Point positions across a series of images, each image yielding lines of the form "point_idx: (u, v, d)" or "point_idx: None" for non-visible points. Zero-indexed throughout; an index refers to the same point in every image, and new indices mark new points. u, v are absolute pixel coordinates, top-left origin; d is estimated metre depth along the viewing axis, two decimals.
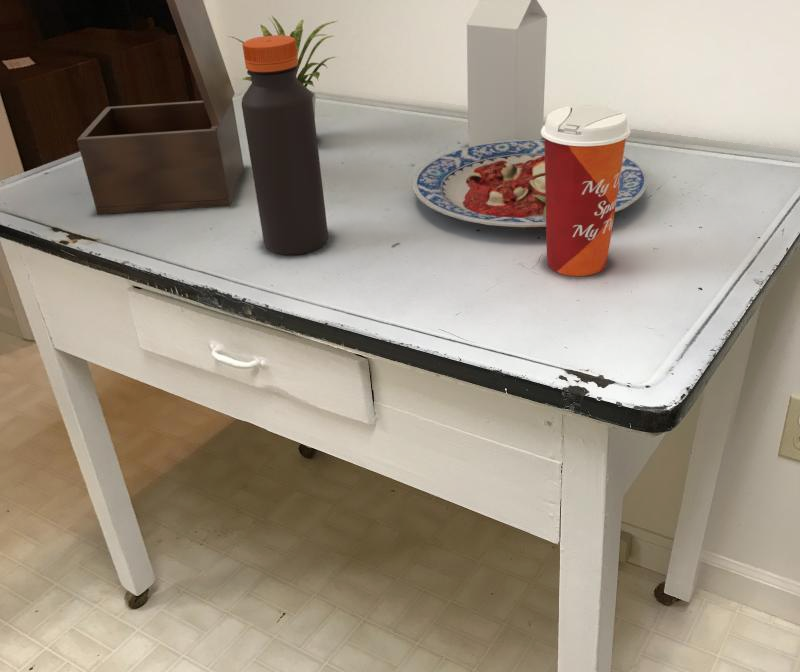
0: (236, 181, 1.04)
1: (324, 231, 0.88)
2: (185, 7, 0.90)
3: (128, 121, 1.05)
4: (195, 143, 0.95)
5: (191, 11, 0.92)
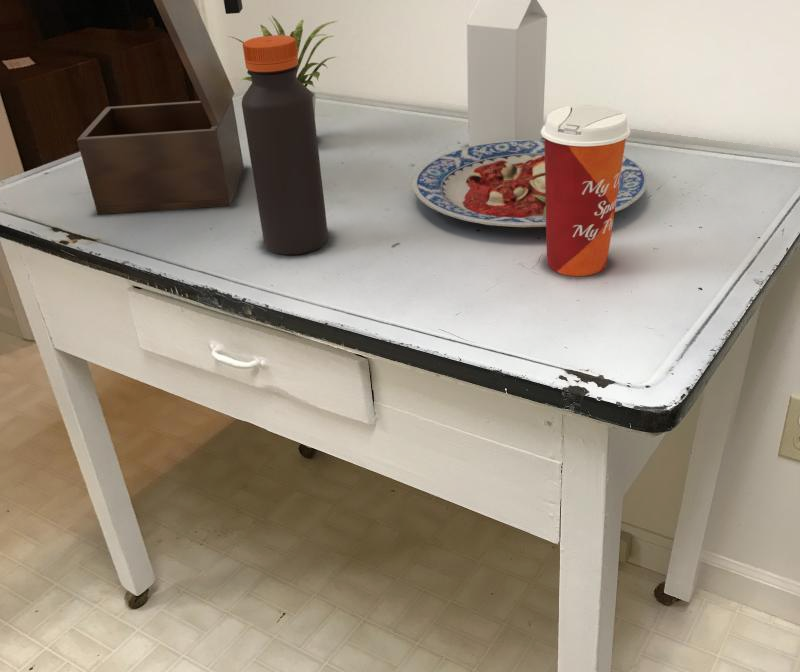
0: (236, 181, 1.04)
1: (324, 231, 0.88)
2: (175, 10, 0.90)
3: (128, 121, 1.05)
4: (195, 143, 0.95)
5: (182, 13, 0.93)
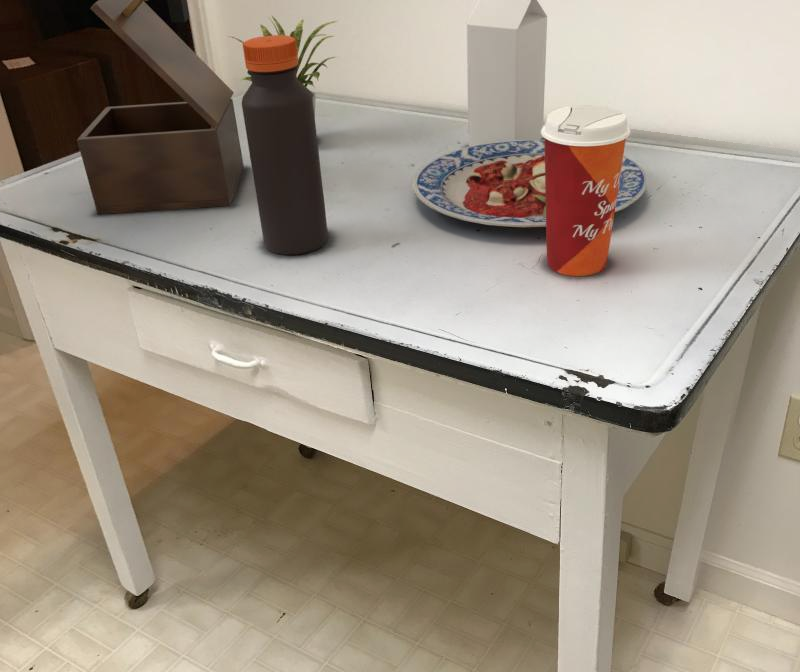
0: (236, 181, 1.04)
1: (324, 231, 0.88)
2: (140, 32, 0.92)
3: (128, 121, 1.05)
4: (195, 143, 0.95)
5: (149, 34, 0.94)
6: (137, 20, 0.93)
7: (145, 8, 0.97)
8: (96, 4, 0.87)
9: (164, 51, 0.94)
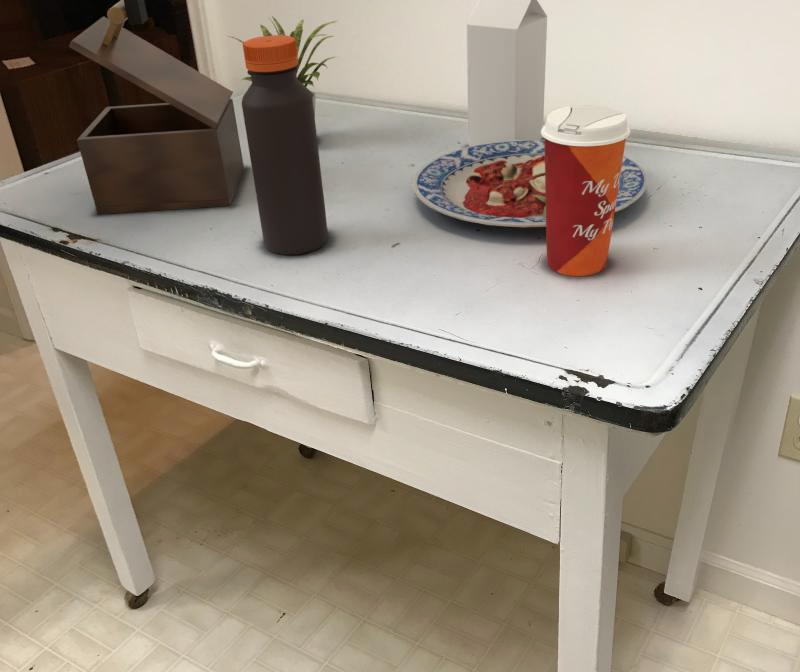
0: (236, 181, 1.04)
1: (324, 231, 0.88)
2: (123, 57, 0.93)
3: (128, 121, 1.05)
4: (195, 143, 0.95)
5: (134, 57, 0.95)
6: (119, 47, 0.95)
7: (127, 35, 0.99)
8: (73, 41, 0.89)
9: (151, 69, 0.95)
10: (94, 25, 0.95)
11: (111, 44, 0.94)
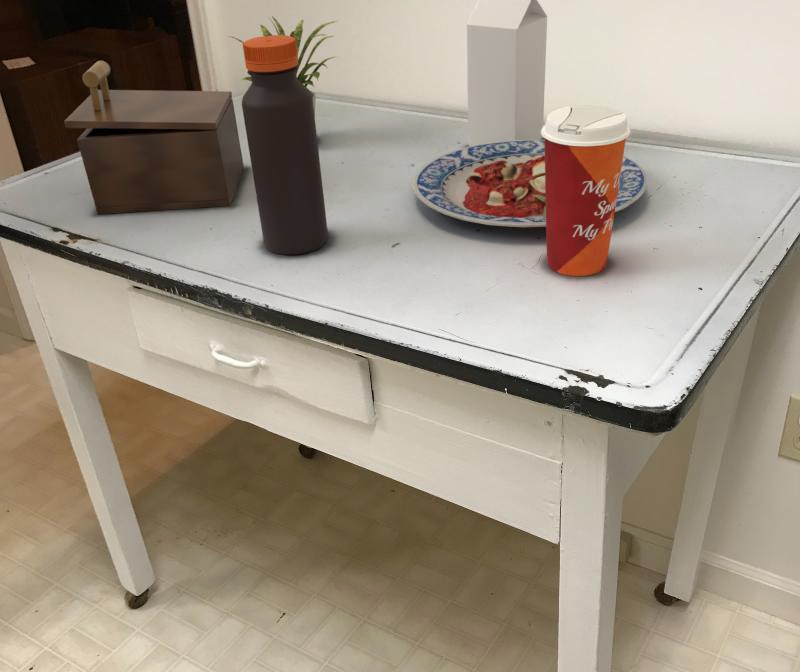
0: (236, 181, 1.04)
1: (324, 231, 0.88)
2: (115, 112, 0.96)
3: None
4: (195, 143, 0.95)
5: (127, 107, 0.98)
6: (111, 106, 0.98)
7: (119, 93, 1.03)
8: (66, 120, 0.94)
9: (144, 109, 0.98)
10: (86, 100, 1.00)
11: (103, 107, 0.98)
